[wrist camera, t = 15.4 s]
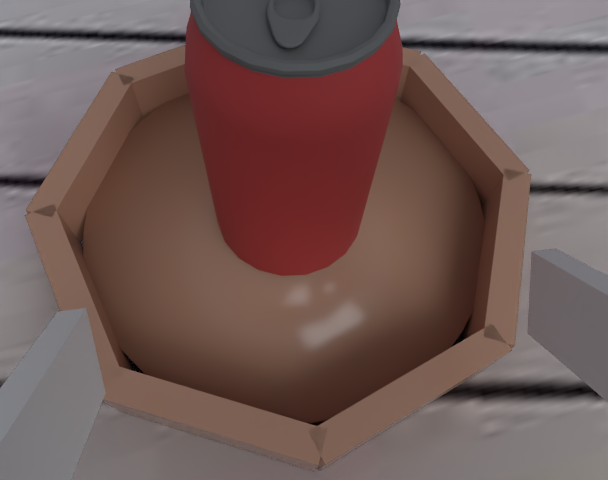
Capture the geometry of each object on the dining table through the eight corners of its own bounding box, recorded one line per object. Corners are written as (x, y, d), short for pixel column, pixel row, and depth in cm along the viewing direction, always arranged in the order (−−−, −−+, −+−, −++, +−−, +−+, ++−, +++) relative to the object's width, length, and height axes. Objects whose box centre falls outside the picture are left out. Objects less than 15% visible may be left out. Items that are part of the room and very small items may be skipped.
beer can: (207, 274, 23) (142, 70, 12) (230, 152, 26) (194, -96, 15) (356, 289, 23) (422, 97, 12) (362, 165, 26) (419, -75, 15)
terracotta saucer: (355, 27, 32) (361, -17, 29) (588, 305, 24) (627, 279, 21) (16, 153, 27) (-13, 113, 24) (173, 560, 19) (155, 568, 16)
